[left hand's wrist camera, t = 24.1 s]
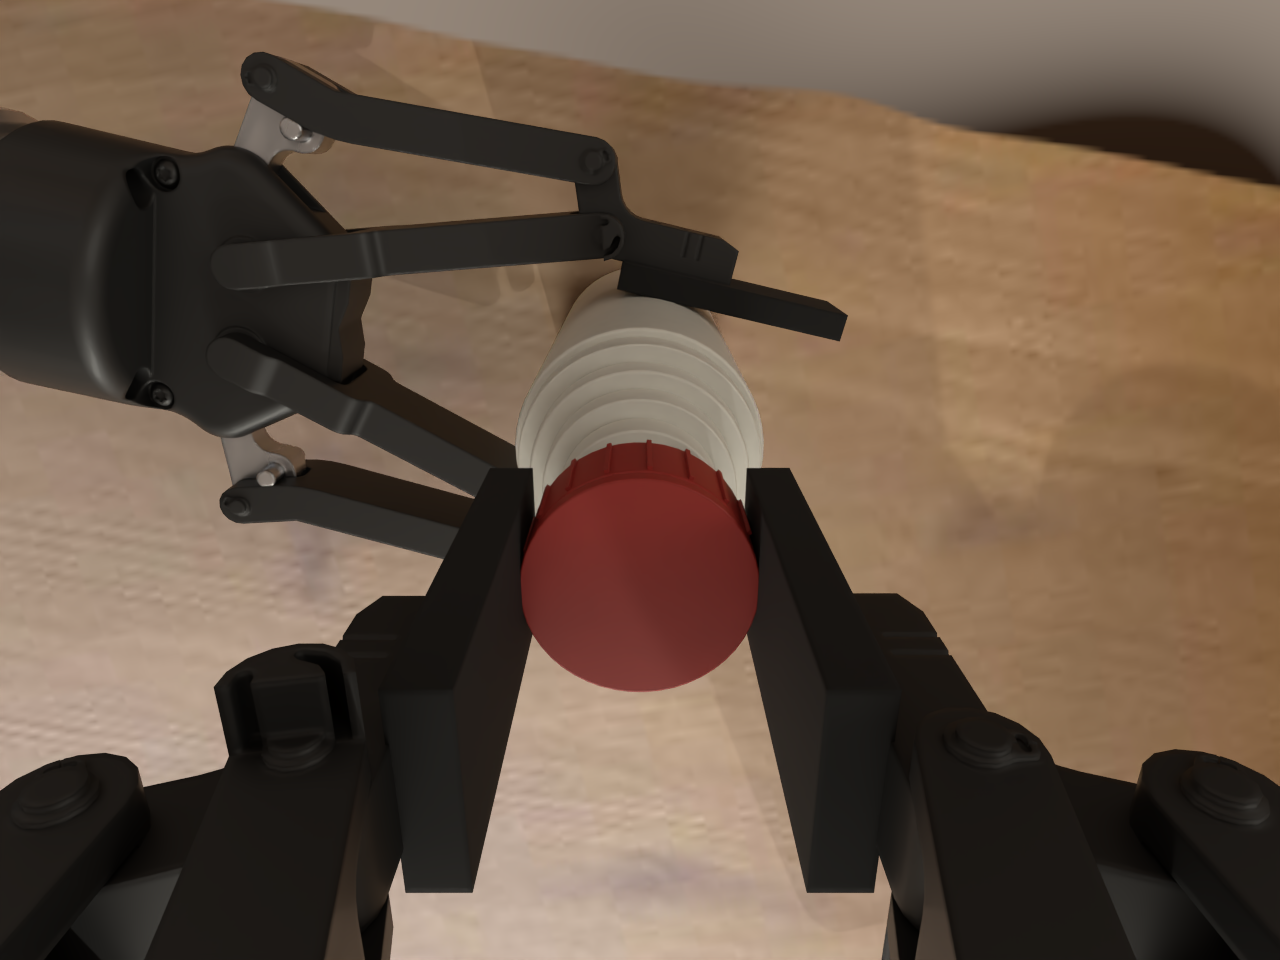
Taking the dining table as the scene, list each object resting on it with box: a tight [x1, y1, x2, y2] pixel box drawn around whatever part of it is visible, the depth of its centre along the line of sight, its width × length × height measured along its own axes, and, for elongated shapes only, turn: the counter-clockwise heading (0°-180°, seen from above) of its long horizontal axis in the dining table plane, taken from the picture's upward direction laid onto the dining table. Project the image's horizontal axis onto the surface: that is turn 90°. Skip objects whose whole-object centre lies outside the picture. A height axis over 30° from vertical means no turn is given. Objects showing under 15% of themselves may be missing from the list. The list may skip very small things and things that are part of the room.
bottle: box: [515, 269, 764, 516], centre depth 22 cm, size 6×6×19 cm
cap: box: [520, 440, 759, 692], centre depth 14 cm, size 4×4×2 cm
